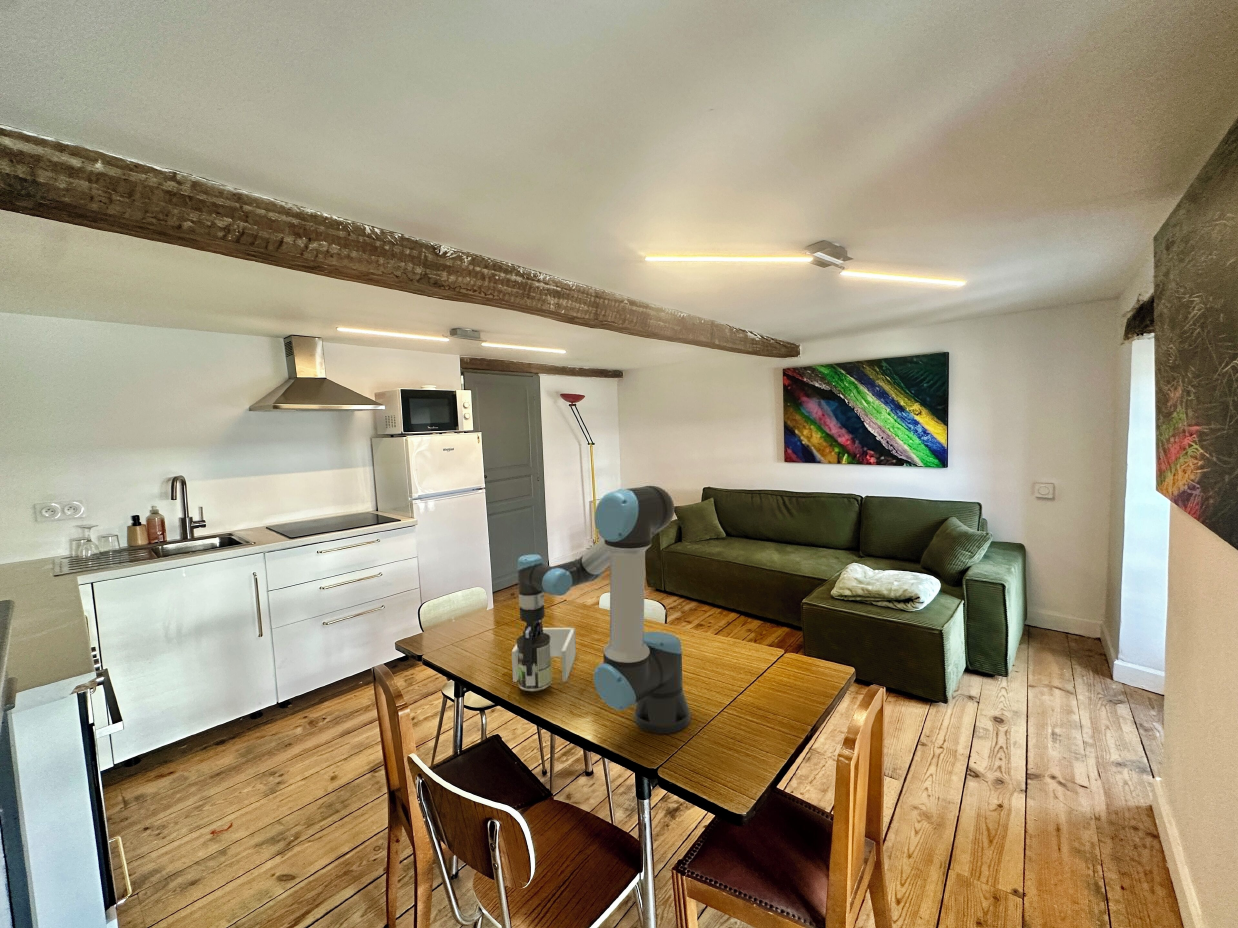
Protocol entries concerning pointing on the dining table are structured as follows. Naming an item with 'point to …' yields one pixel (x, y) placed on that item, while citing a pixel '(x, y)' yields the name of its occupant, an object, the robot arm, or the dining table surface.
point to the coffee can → (536, 663)
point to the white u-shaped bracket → (555, 650)
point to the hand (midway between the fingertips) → (535, 676)
